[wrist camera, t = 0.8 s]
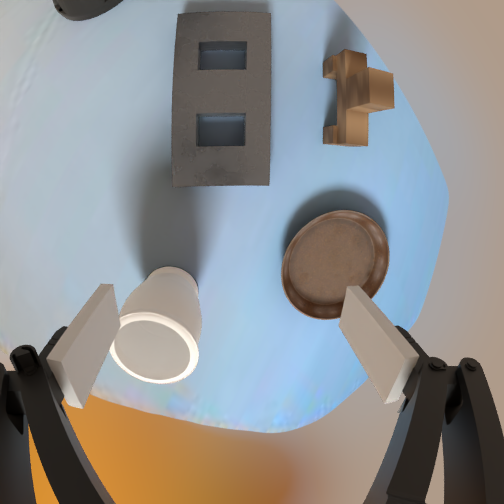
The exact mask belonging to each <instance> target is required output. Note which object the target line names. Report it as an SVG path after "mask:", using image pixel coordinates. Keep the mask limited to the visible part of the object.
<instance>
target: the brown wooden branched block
mask: <svg viewBox="0 0 504 504" xmlns="http://www.w3.org/2000/svg"><path fill="white" fill-rule="evenodd" d="M323 78H329V79H335V80H337V126H336V125H332V126H327V127H323V144H330V145H340V146H368V113H372V112H377V111H382V110H387V109H393V108H394V82H393V74H392V73H389V72H385V71H382V70H378V69H374V68H370V67H368V68H367V57H366V54H364V53H360V52H355V51H351V50H346V49H344V50H343V51H342V52H340V53H339V54H338V55H336V56H334V55H332V56H331V57H329V58H328V59H327V60H326V61H325V62H323Z"/></svg>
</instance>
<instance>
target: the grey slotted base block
mask: <svg viewBox="0 0 504 504" xmlns="http://www.w3.org/2000/svg"><path fill="white" fill-rule="evenodd" d="M213 50H245V70H200V60H201V51H213ZM227 116H238V117H244V146H205V147H199V117H227ZM270 122H271V13H260V12H196V13H183V14H178V18H177V29H176V40H175V53H174V69H173V90H172V187H189V186H234V185H264V186H269V180H270Z"/></svg>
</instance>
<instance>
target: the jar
mask: <svg viewBox="0 0 504 504" xmlns="http://www.w3.org/2000/svg"><path fill="white" fill-rule="evenodd" d="M119 319H120V324H121V327H120V329H119V331H118V333H117V335H116V337H115V339H114V341H113V343H112V345H111V347H110V349H109V350H110V353H111V355H112V357H113V359H114V360H115V362H116V363H117V364H118V365H119V366H120V367H121V368H122V369H123V370H124V371H125V372H127V373H128V374H130V375H131V376H133V377H135V378H137V379H140V380H142V381H145V382H149V383H155V384H169V383H174V382H178V381H180V380H182V379H184V378H186V377H187V376H189V375H190V374H191V373H192V372H193V370H194V369H195V367H196V365H197V363H198V357H199V350H198V342H199V339H200V335H201V328H202V317H201V310H200V304H199V299H198V287H197V284H196V282H195V280H194V279H193V277H192V276H191V275H190V274H189V273H187V272H186V271H184V270H182V269H180V268H177V267H162V268H159V269H157V270H155V271H153V272H152V273H151V274H150V275H149V276H148V278H147V279H146V280H145V281H144V282H143V283H141V284H140V285H139V286H138V287H137V288H136V289H135V290H134V291H133V292H132V293H131V294H130V295H129V297H128V298H127V300H126V301H125V303H124V305H123V307H122V309H121V311H120V314H119Z"/></svg>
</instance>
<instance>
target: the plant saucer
mask: <svg viewBox="0 0 504 504" xmlns="http://www.w3.org/2000/svg"><path fill="white" fill-rule="evenodd" d="M388 266H389V246H388V242H387V239H386V236H385V234H384V232H383V230H382V229H381V227H380V226H379V225H378V224H377V223H376V222H375V221H374V220H373V219H372V218H370V217H368V216H367V215H365V214H362V213H360V212H356V211H351V210H337V211H332V212H328V213H325V214H323V215H320V216H318V217H317V218H315V219H313V220H312V221H310V222H309V223H307V224H306V225H305V226H304V227H303V228H302V229H301V230H300V231H299V232H298V233H297V234H296V235H295V237H294V238H293V239H292V241H291V242H290V244H289V246H288V248H287V250H286V252H285V255H284V258H283V262H282V269H281V280H282V286H283V290H284V292H285V295H286V297H287V299H288V300H289V302H290V303H291V304H292V306H293V307H294V308H295V309H297V310H298V311H299V312H301V313H302V314H304V315H306V316H308V317H311V318H315V319H321V320H331V319H338V318H341V313H342V309H343V304H344V300H345V295H346V290H347V286H360V288H361V289H362V290H363V291H364V292H365V293H366V294H367V295H368V296H369V298H370V299H372V298H373V297H374V296H375V294H376V293H377V292H378V290H379V289H380V287H381V285H382V284H383V282H384V279H385V276H386V274H387V271H388Z"/></svg>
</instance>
